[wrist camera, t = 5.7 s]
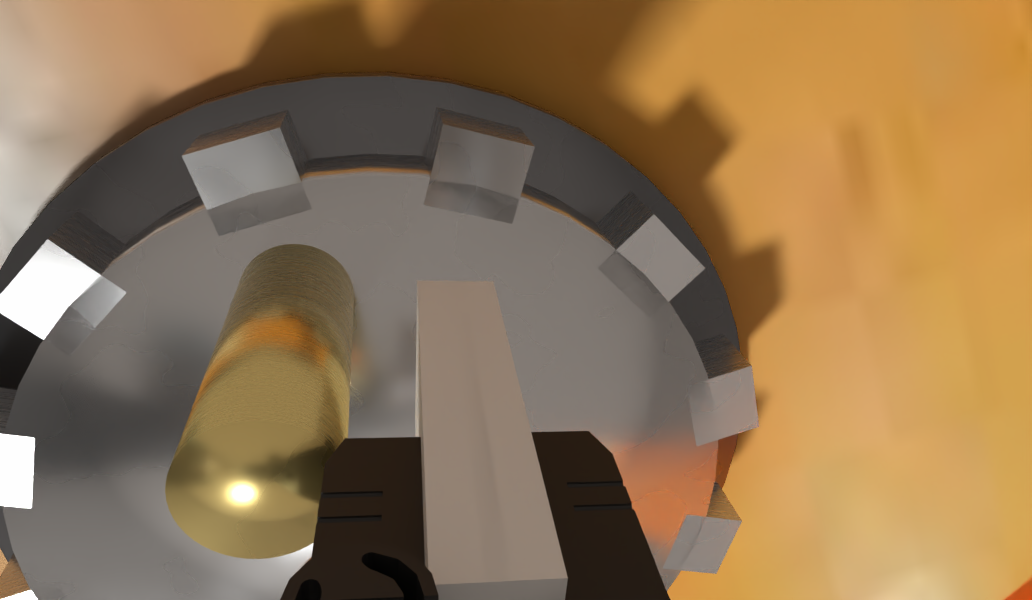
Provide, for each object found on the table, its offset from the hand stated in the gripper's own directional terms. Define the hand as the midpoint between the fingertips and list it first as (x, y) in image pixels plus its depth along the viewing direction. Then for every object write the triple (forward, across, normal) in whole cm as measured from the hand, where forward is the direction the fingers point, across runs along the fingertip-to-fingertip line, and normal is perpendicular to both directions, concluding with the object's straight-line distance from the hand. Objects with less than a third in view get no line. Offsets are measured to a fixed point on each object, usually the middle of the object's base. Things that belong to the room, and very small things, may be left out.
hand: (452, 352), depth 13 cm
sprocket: (+5, -1, -6) cm, 8 cm away
